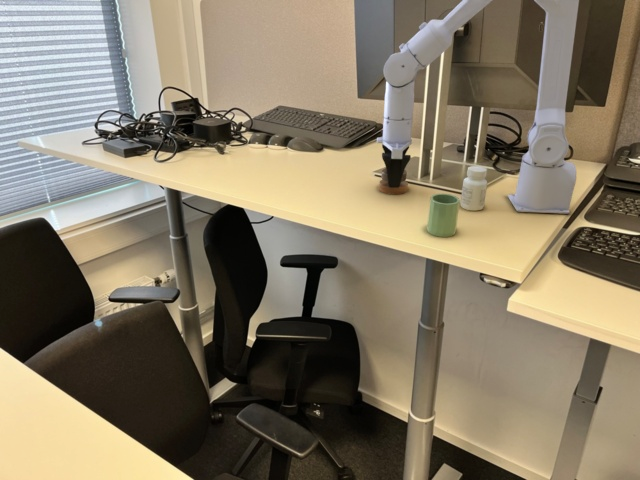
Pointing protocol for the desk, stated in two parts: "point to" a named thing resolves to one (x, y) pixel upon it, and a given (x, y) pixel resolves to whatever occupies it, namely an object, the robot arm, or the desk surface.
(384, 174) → the brown round lid
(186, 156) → the desk surface
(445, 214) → the plastic cup
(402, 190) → the teak chip
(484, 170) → the pill bottle
